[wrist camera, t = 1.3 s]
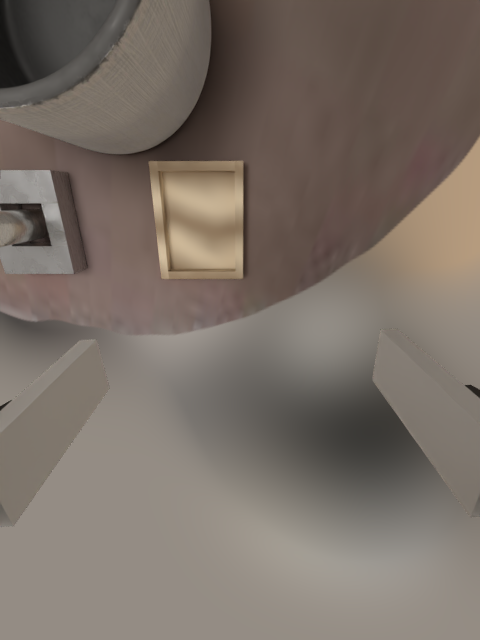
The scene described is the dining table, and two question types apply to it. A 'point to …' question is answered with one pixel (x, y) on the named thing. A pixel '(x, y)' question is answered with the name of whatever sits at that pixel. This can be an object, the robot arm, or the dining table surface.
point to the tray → (198, 218)
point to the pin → (22, 226)
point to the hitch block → (61, 220)
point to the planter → (103, 69)
